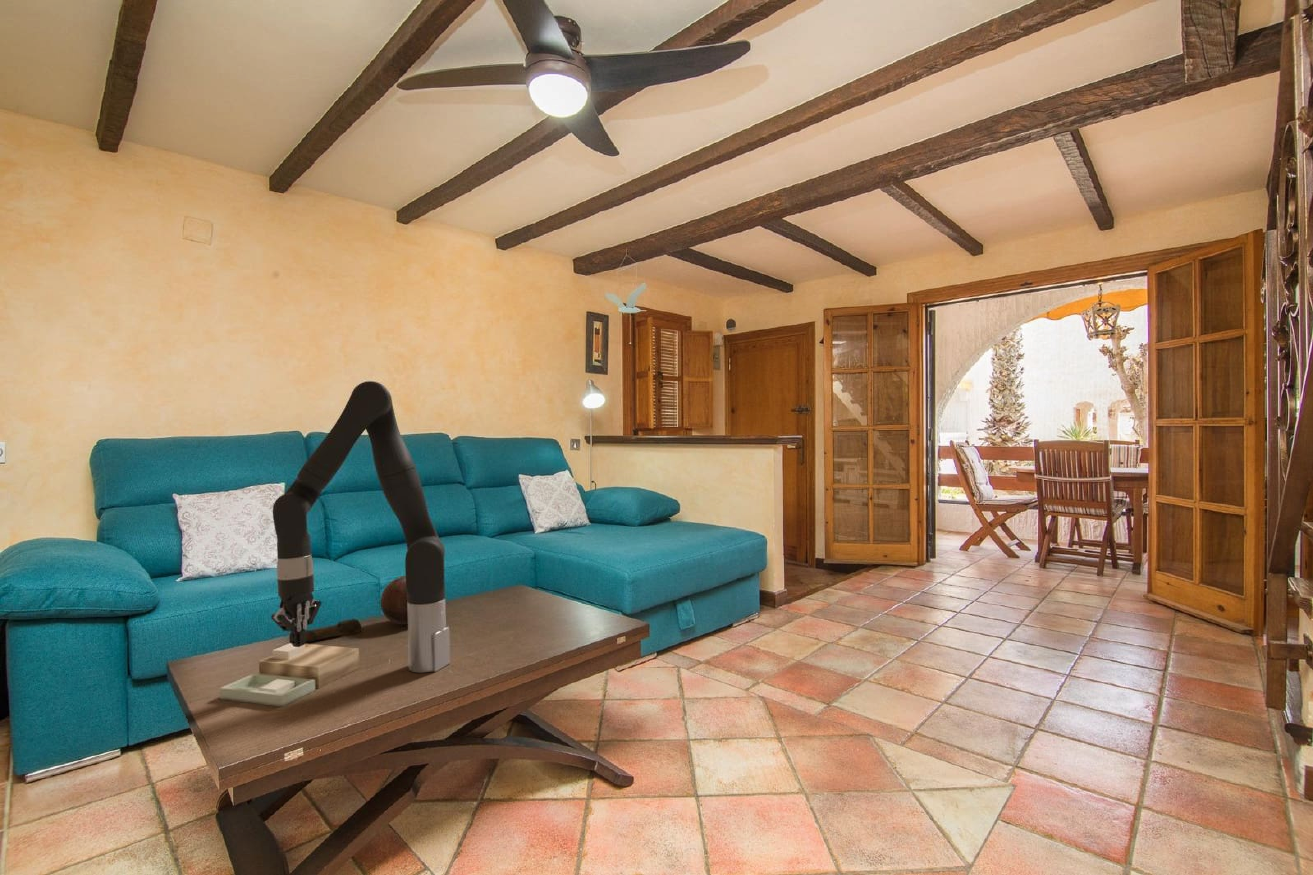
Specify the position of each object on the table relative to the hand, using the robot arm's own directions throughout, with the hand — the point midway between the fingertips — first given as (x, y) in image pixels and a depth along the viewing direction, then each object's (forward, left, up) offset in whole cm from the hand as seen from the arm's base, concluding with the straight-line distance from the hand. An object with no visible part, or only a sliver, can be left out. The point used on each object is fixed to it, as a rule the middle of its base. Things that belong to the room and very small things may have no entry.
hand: (299, 645), depth 147 cm
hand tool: (+21, -29, -10) cm, 37 cm away
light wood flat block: (+3, -6, -9) cm, 11 cm away
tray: (+3, +6, -9) cm, 12 cm away
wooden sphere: (+7, -47, -10) cm, 49 cm away
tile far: (+8, -4, -4) cm, 10 cm away
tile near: (0, +6, -7) cm, 9 cm away
